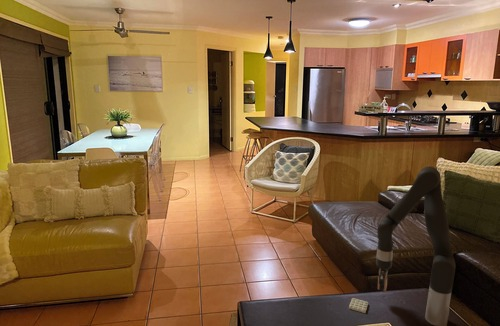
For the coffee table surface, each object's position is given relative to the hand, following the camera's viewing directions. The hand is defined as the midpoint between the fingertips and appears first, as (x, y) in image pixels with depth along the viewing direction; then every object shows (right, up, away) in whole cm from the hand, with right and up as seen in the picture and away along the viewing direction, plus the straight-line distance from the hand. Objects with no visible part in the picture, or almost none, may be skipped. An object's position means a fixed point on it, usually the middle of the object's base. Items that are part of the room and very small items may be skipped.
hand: (382, 287), depth 184 cm
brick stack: (0, 0, 0) cm, 0 cm away
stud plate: (-13, -9, -2) cm, 16 cm away
